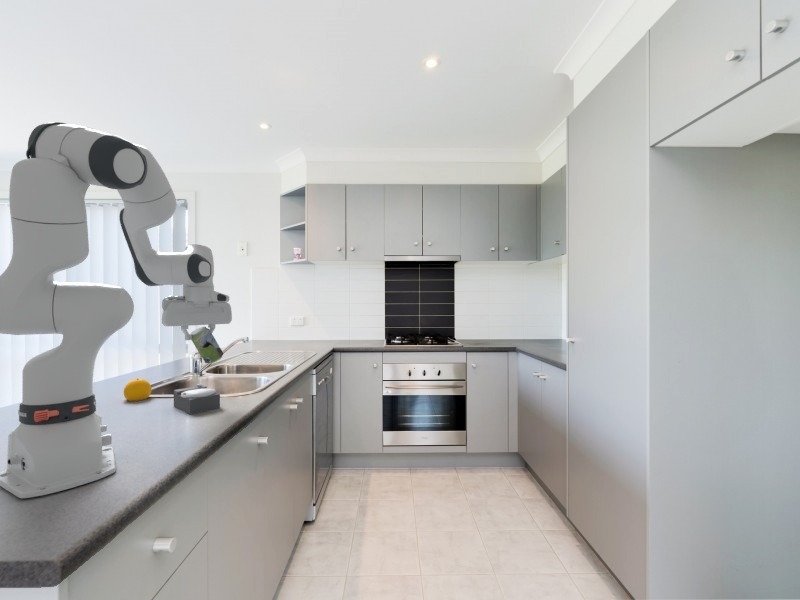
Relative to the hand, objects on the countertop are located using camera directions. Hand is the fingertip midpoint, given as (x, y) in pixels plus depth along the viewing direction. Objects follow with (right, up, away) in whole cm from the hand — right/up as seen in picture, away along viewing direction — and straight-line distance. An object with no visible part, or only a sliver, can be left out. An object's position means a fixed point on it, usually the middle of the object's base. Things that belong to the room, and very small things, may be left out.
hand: (198, 339), depth 119 cm
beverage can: (+3, -8, +4) cm, 9 cm away
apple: (-27, -23, +10) cm, 37 cm away
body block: (-1, -22, +1) cm, 22 cm away
